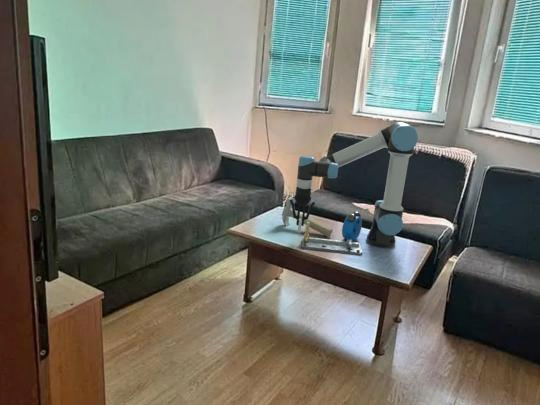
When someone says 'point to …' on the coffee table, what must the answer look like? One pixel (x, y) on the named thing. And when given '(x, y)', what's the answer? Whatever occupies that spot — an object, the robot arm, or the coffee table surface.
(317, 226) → the hammer
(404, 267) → the coffee table surface
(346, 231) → the alarm clock
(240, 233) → the coffee table surface
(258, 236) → the coffee table surface
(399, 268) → the coffee table surface
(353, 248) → the bolt plate
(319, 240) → the bar
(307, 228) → the sliding leg
